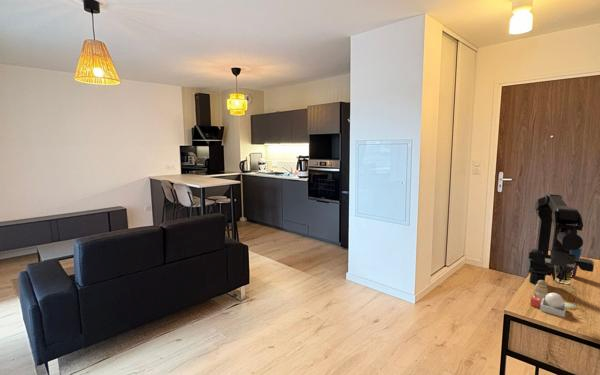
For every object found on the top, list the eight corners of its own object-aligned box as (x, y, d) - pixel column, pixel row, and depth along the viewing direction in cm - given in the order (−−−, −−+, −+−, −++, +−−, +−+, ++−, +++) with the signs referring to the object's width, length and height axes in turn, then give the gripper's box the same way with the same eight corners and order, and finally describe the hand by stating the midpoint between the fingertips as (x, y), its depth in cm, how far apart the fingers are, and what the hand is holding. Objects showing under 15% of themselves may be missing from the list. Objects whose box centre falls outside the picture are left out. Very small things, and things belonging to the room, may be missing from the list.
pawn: (532, 294, 135) (534, 277, 134) (543, 296, 134) (545, 278, 133) (536, 299, 132) (538, 281, 130) (547, 300, 130) (550, 283, 129)
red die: (531, 302, 129) (532, 294, 128) (540, 305, 127) (541, 297, 126) (530, 305, 127) (531, 297, 126) (539, 308, 125) (540, 300, 124)
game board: (534, 294, 138) (535, 286, 138) (577, 305, 129) (579, 297, 128) (528, 310, 125) (529, 301, 125) (576, 324, 116) (578, 315, 115)
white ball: (544, 301, 127) (546, 288, 126) (563, 306, 123) (564, 293, 122) (543, 307, 123) (545, 293, 122) (562, 312, 119) (564, 298, 118)
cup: (577, 275, 158) (582, 246, 156) (577, 279, 153) (581, 249, 151) (560, 271, 163) (564, 243, 161) (559, 275, 158) (563, 246, 156)
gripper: (529, 241, 119) (524, 280, 122) (596, 253, 107) (589, 296, 109) (532, 234, 127) (528, 271, 130) (596, 245, 115) (589, 286, 118)
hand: (556, 281), depth 121 cm, fingers closed
